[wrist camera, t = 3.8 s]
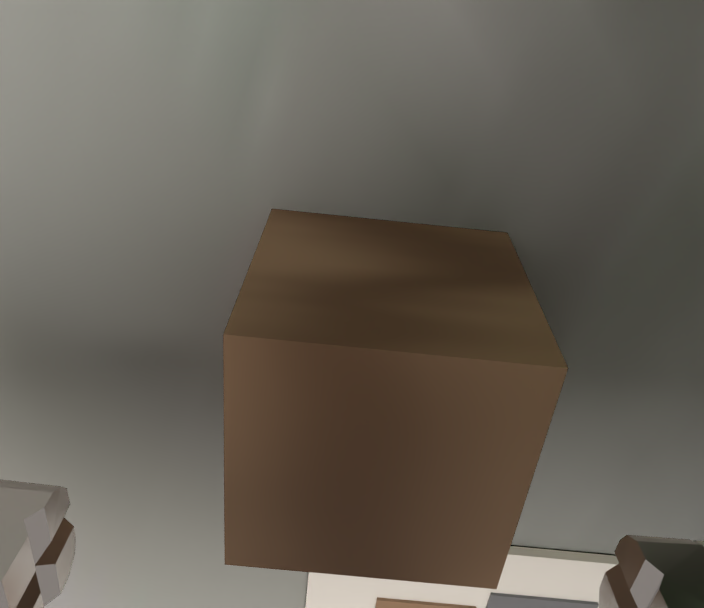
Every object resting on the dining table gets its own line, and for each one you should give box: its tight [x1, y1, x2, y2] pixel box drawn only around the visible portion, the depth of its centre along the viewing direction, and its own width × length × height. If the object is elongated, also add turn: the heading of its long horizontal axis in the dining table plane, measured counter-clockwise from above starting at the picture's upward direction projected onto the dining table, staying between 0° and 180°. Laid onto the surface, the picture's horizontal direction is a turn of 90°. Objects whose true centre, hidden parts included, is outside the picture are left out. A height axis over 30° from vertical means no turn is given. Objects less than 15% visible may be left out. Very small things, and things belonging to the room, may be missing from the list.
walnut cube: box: [223, 209, 568, 589], centre depth 13 cm, size 5×5×5 cm
